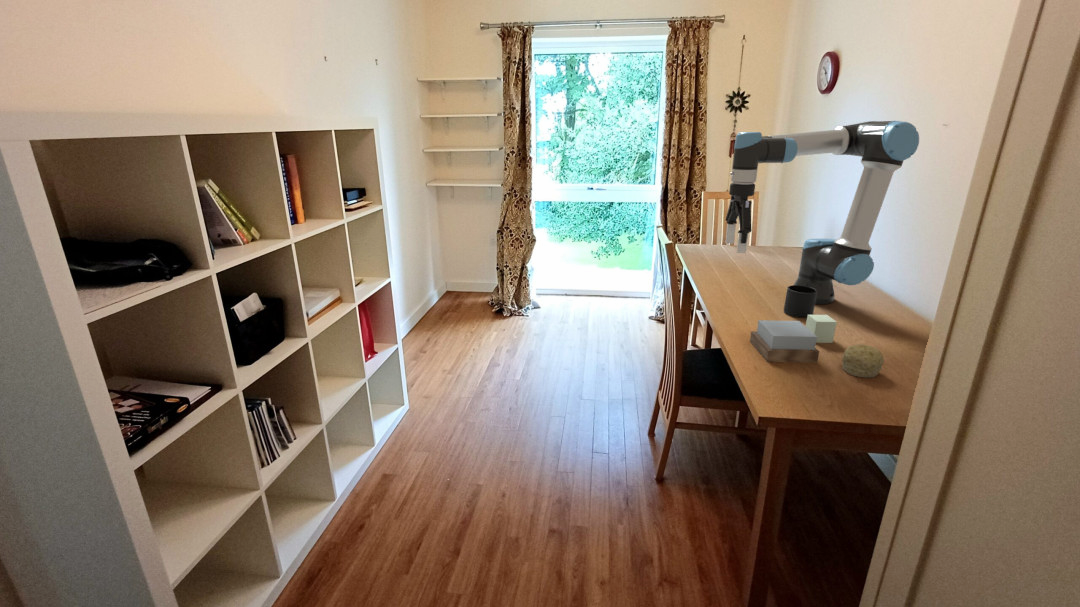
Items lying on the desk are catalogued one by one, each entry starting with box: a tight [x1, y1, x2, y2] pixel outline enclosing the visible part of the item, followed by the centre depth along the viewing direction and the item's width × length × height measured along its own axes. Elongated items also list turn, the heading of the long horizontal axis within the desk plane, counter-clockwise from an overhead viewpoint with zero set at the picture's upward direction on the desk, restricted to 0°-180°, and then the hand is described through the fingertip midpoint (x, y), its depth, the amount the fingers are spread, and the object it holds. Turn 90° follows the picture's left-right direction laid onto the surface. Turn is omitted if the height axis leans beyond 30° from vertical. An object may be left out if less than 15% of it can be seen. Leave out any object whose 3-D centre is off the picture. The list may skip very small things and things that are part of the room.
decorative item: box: [842, 344, 885, 378], centre depth 138 cm, size 10×10×10 cm
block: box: [804, 314, 838, 344], centre depth 158 cm, size 6×6×7 cm
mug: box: [783, 284, 817, 319], centre depth 180 cm, size 9×12×9 cm
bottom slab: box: [749, 330, 820, 363], centre depth 150 cm, size 14×14×4 cm
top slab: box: [756, 319, 817, 350], centre depth 149 cm, size 12×12×4 cm
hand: (735, 247), depth 170 cm, fingers open, 13 cm apart
